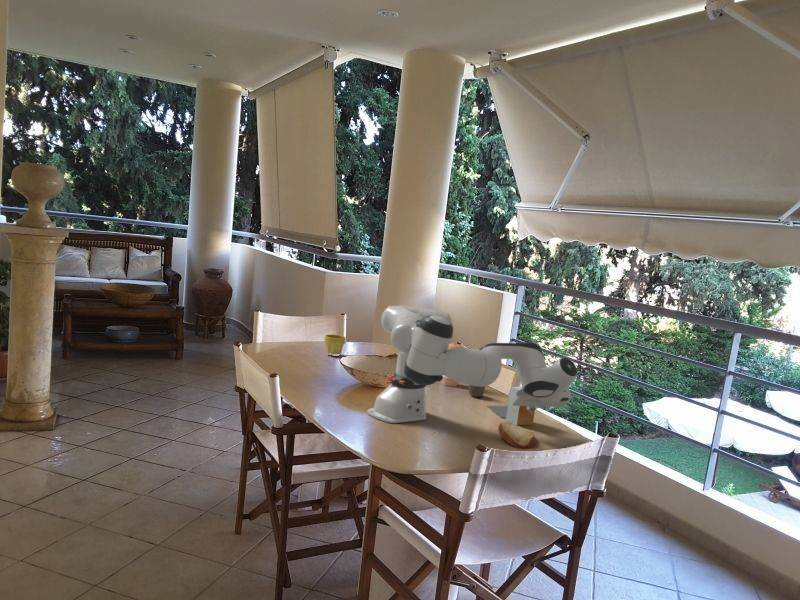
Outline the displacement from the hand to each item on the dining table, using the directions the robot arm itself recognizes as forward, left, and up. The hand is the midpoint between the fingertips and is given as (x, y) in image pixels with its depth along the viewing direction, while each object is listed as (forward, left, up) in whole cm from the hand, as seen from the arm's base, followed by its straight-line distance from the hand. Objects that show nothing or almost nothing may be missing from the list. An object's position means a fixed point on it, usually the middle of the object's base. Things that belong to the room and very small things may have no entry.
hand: (530, 408), depth 214 cm
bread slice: (-14, -3, -8) cm, 16 cm away
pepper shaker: (+19, +53, -8) cm, 57 cm away
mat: (+8, +15, -7) cm, 19 cm away
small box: (+3, +5, -8) cm, 10 cm away
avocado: (+15, +35, -8) cm, 39 cm away
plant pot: (+3, +116, -8) cm, 117 cm away
